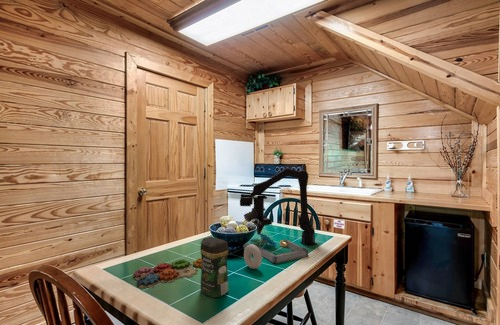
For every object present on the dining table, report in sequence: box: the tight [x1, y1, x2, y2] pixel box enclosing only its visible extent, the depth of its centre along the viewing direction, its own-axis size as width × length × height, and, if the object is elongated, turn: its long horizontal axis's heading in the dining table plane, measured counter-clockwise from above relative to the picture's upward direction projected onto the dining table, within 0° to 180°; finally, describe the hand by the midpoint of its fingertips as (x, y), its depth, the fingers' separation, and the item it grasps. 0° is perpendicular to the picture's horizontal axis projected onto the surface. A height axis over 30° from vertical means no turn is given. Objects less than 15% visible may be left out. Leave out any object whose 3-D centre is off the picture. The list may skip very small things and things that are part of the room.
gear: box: [258, 232, 277, 249], centre depth 136 cm, size 11×6×10 cm
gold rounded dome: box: [279, 238, 292, 249], centre depth 139 cm, size 6×6×3 cm
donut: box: [243, 243, 263, 270], centre depth 110 cm, size 10×4×10 cm, turn 40°
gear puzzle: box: [132, 257, 202, 289], centre depth 107 cm, size 31×16×4 cm, turn 123°
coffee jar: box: [200, 235, 229, 299], centre depth 91 cm, size 10×8×19 cm
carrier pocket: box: [257, 240, 309, 265], centre depth 126 cm, size 19×16×3 cm
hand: (258, 234), depth 146 cm, fingers closed
